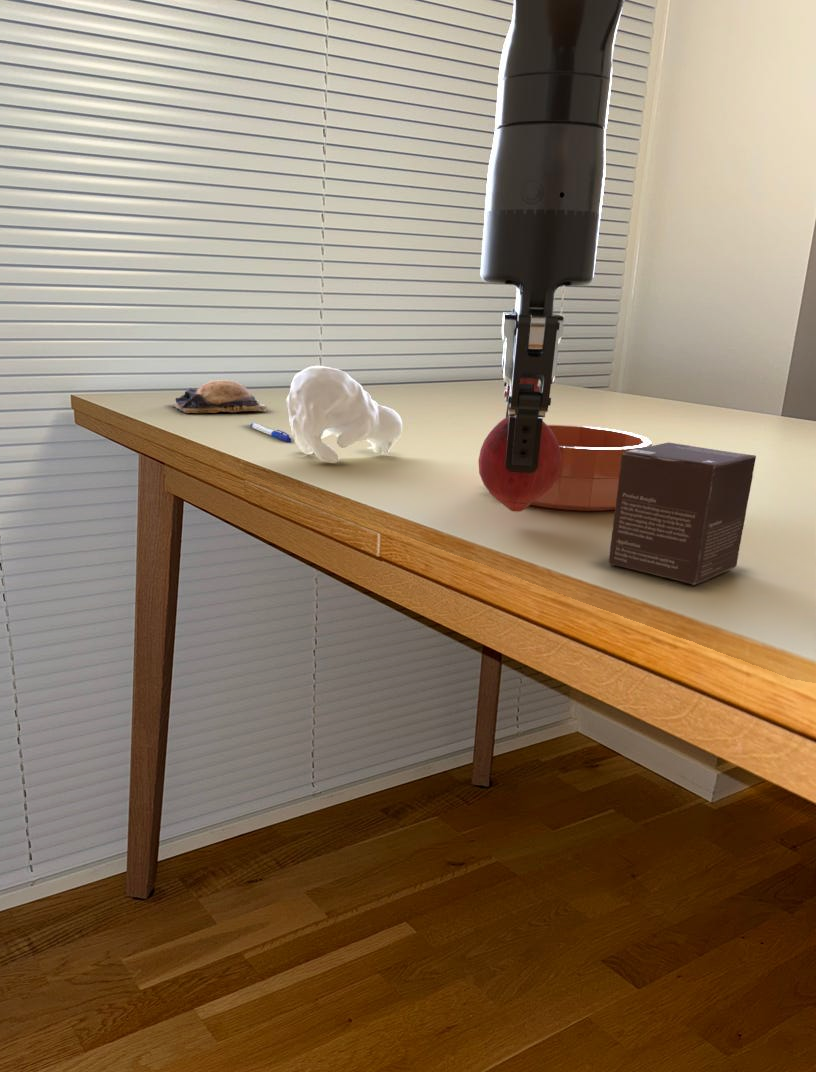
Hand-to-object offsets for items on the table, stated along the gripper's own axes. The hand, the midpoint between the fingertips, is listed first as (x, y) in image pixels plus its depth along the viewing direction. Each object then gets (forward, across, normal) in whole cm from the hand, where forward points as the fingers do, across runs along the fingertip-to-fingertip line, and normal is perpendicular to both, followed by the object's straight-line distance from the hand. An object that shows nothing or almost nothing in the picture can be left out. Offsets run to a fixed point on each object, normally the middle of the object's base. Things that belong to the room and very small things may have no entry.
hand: (519, 462), depth 69 cm
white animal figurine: (+5, +23, +15) cm, 28 cm away
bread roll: (+4, +51, +35) cm, 62 cm away
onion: (+4, 0, 0) cm, 4 cm away
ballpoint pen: (+5, +34, +25) cm, 43 cm away
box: (+5, -9, -10) cm, 14 cm away
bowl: (+5, +11, -5) cm, 13 cm away
